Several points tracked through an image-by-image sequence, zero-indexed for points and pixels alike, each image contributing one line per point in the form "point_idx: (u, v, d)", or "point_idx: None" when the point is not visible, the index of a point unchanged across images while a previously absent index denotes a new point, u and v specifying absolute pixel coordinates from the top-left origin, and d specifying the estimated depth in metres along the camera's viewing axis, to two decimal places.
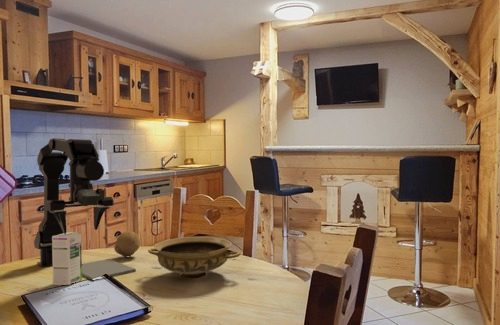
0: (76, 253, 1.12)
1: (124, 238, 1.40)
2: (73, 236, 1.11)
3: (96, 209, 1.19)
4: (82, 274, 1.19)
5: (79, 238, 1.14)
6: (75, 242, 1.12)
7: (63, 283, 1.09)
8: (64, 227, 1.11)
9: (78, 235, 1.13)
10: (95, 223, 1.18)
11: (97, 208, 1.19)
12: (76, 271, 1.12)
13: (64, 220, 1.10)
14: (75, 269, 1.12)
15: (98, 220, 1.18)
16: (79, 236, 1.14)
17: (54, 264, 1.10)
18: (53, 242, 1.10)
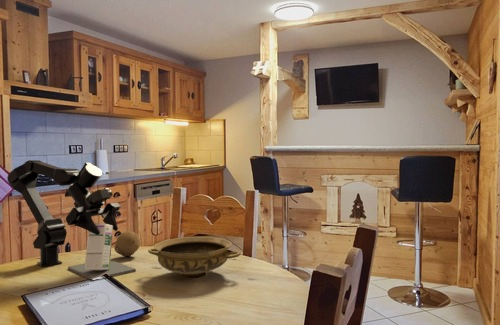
0: (108, 241, 1.23)
1: (124, 238, 1.40)
2: (108, 225, 1.23)
3: (107, 217, 1.29)
4: (82, 274, 1.19)
5: (111, 229, 1.25)
6: (108, 231, 1.23)
7: (95, 267, 1.18)
8: (95, 227, 1.19)
9: (111, 226, 1.25)
10: (113, 226, 1.27)
11: (107, 215, 1.29)
12: (107, 259, 1.21)
13: (92, 222, 1.20)
14: (106, 256, 1.21)
15: (114, 221, 1.28)
16: (111, 228, 1.25)
17: (88, 250, 1.19)
18: None
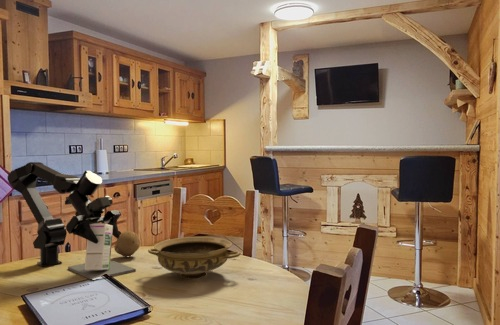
0: (108, 241, 1.23)
1: (124, 238, 1.40)
2: (108, 225, 1.23)
3: (108, 224, 1.30)
4: (82, 274, 1.19)
5: (111, 229, 1.25)
6: (108, 231, 1.23)
7: (95, 267, 1.18)
8: (94, 236, 1.19)
9: (111, 226, 1.25)
10: (115, 233, 1.28)
11: (109, 222, 1.30)
12: (107, 259, 1.21)
13: (91, 230, 1.19)
14: (106, 256, 1.21)
15: (116, 228, 1.28)
16: (111, 228, 1.25)
17: (88, 250, 1.19)
18: None
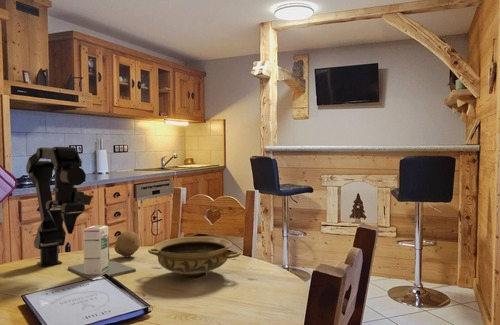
0: (105, 244, 1.20)
1: (124, 238, 1.40)
2: (103, 228, 1.20)
3: (57, 212, 1.27)
4: (82, 274, 1.19)
5: (107, 230, 1.22)
6: (104, 234, 1.20)
7: (95, 272, 1.17)
8: None
9: (106, 228, 1.22)
10: (60, 225, 1.27)
11: (59, 211, 1.28)
12: (105, 261, 1.20)
13: None
14: (105, 259, 1.20)
15: None
16: (107, 229, 1.22)
17: (85, 255, 1.18)
18: (84, 234, 1.18)
